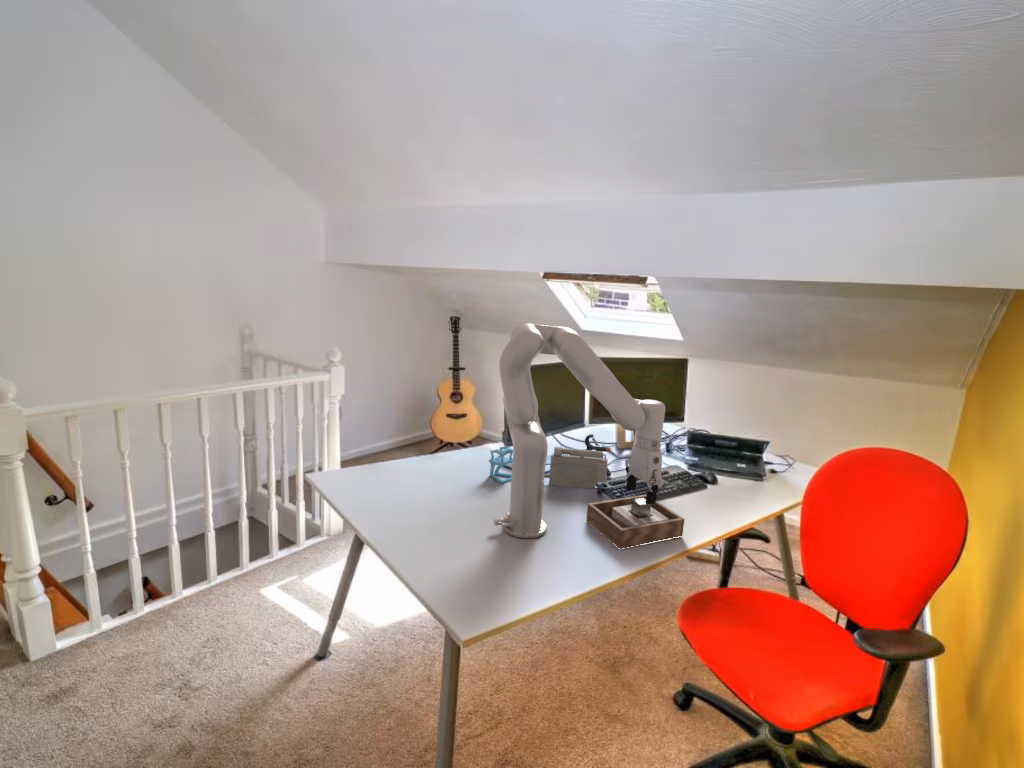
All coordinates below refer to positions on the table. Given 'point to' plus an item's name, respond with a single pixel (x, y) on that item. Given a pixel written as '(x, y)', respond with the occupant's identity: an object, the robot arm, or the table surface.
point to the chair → (500, 463)
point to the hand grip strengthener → (590, 447)
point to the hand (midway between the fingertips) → (640, 496)
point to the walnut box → (633, 522)
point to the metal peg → (640, 508)
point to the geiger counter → (577, 468)
